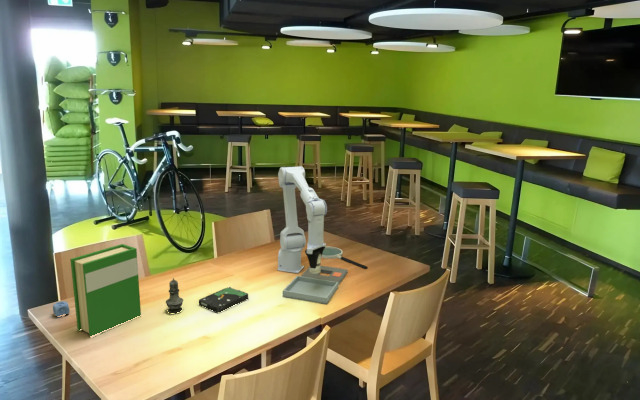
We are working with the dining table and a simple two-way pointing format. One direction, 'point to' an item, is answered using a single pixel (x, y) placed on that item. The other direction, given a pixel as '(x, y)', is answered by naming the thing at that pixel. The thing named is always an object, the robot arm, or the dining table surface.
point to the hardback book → (106, 288)
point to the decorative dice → (61, 308)
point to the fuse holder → (335, 273)
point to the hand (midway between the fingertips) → (314, 265)
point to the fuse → (317, 269)
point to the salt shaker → (174, 298)
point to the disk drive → (223, 299)
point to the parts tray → (310, 289)
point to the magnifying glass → (338, 256)
